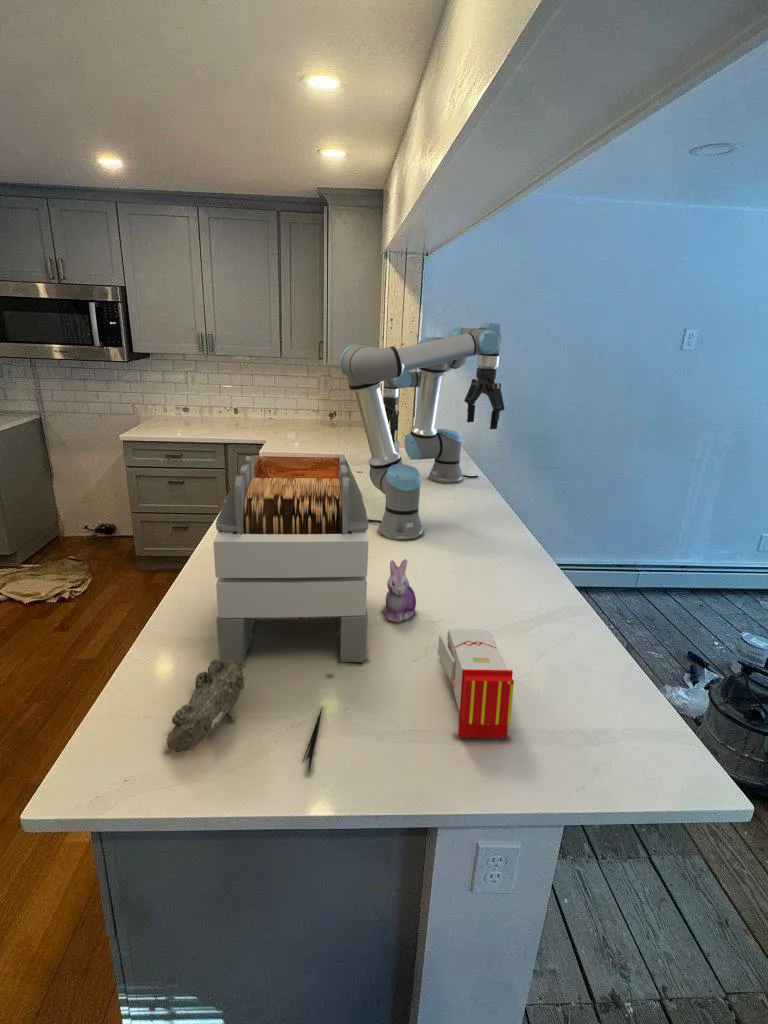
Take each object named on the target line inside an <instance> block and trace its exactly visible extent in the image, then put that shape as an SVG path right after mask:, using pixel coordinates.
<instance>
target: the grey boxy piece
mask: <svg viewBox="0 0 768 1024" xmlns="http://www.w3.org/2000/svg"><path fill="white" fill-rule="evenodd" d="M363 497H364V496H363V494H362V491H361V489H360V487H359V485H358V483H357V481H356V478H355V476H354V475H353V472H352V469H351V467H350V465H349V463H348V461H347V458H346V457H343V456H339V457H338V478H332V479H330V478H324V477H323V478H320V479H317V478H313V477H312V478H311V477H310V478H309V477H308V478H307V477H294V479H293V478H289V479H288V477H284V478H283V477H273V478H272V477H264V478H262V477H255V461H254V456H248V455H245V458H244V460H243V462H242V464H241V467H240V468H239V471H238V474H237V475H236V477H235V479H234V481H233V483H232V486H231V488H230V490H229V491H228V494H227V497H226V499H225V501H224V502H223V505H222V507H221V510H220V512H219V513H218V517H217V518H216V522H215V528H216V531H217V533H216V535H215V537H214V539H213V542H212V543H213V557H214V572H215V573H214V574H215V579H217V580H216V583H215V585H216V586H215V589H216V603H217V616H216V632H217V633H216V634H217V644H218V652H219V661H222V662H223V661H224V660H227V659H228V660H231V659H232V660H234V661H235V662H236V664H237V665H243V662H244V659H245V657H246V654H247V652H248V649H249V645H250V643H251V640H252V633H251V632H252V631H253V630H254V626H255V621H276V620H277V621H282V620H284V621H288V620H289V621H292V620H294V621H295V620H298V621H299V620H300V621H301V620H307V619H308V620H313V619H314V620H328V619H329V620H334V619H336V620H337V625H338V642H339V657H340V659H339V660H340V663H364V662H366V661H367V653H368V652H367V651H368V626H369V625H368V624H369V623H368V621H369V618H368V616H369V615H368V609H367V595H368V594H367V592H368V591H367V590H368V580H367V577H368V564H369V537H368V532H367V530H369V522H368V519H369V518H368V515H367V509H366V506H365V501H364V498H363Z"/></svg>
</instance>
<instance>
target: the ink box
mask: <svg viewBox="0 0 768 1024" xmlns="http://www.w3.org/2000/svg"><path fill="white" fill-rule="evenodd" d="M389 428H390V426H389ZM392 429H393V428H392ZM390 430H391V429H390ZM400 443H401V442H400V440H396V439H395V440H394V443H393V445H394V449H395V451H396V452H398V453H400Z"/></svg>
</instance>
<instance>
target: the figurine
mask: <svg viewBox="0 0 768 1024" xmlns="http://www.w3.org/2000/svg"><path fill="white" fill-rule="evenodd" d="M407 567H408V559H406V558H404V559H403V560H402V561H401V563H400V565H399V566H398V565H397V563H396V562H395V561H394V560H393V559H391V560H390V561H389V570H390V576H389V578H388V579H387V589H388V591H387V592H386V594H385V595H386V596H385V607H384V615H385V616H386V620H387V621H391V622H395V623H400V622H402V621H406V620H409V619H410V618H411V617H413V616H414V615H415V610H416V606H417V597H416V593H415V591H414V590H413V587H411V586H410V582H409V579H408V577H407V574H406V571H407Z"/></svg>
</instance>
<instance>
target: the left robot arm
mask: <svg viewBox="0 0 768 1024" xmlns="http://www.w3.org/2000/svg"><path fill="white" fill-rule="evenodd" d="M502 333H503V325H502V324H501V323H499V322H498V323H497V322H482V323H481V324H480V327H478V328H476V327H475V328H474V327H460V326H459V327H453V328H451V329H450V330H449V331H448V335H447V337H444V338H443V339H439V340H434V341H430V342H425V343H421V344H418V343H417V344H412V345H407V346H404V347H399V348H397V347H396V346H394V345H393V346H388V347H375V346H369V345H367V344H363V343H357V344H356V343H355V344H352V345H349V346H348V347H346V348H345V349H344V350H343V351H342V354H341V355H340V358H339V359H340V360H339V365H340V369H341V371H342V373H343V375H344V376H345V378H346V381H347V384H348V388H349V391H351V392H353V393H355V398H356V400H357V405H358V409H359V412H360V416H361V417H360V418H361V420H362V425H363V428H364V431H365V435H366V439H367V443H368V447H369V451H370V455H371V457H370V458H369V460H368V464H369V467H370V468H369V473H368V474H369V478H370V479H369V480H370V481H371V483H372V484H373V486H374V487H375V488H376V489H378V490H379V491H380V492H381V493H382V494H383V495H385V504H384V505H385V507H384V508H385V509H384V513H383V515H382V519H381V520H379V519H369V518H368V523H376V524H379V527H378V533H379V534H380V535H381V536H382V537H385V538H387V539H389V540H395V541H410V540H415V539H418V538H420V537H421V536H422V535H423V525H422V524H421V518H420V515H419V507H420V506H419V505H420V496H421V495H420V494H421V493H420V492H421V483H422V480H421V472H420V471H419V469H418V468H416V467H414V466H412V465H409V464H406V463H405V464H404V463H403V461H402V457H401V456H402V455H401V454H400V452H399V453H398V452H396V451H395V449H394V445H393V441H392V437H391V432H390V428H389V427H390V423H389V424H388V420H387V416H386V412H385V405H384V403H383V395H382V391H381V385H382V383H384V381H385V380H388V379H392V378H396V377H400V376H401V375H402V373H403V372H407V371H416V370H419V368H423V367H428V366H432V365H436V364H440V363H444V362H448V361H453V360H457V359H461V358H465V357H468V358H470V357H473V356H477V363H476V366H477V368H476V374H475V376H476V377H475V378H471V382H470V386H469V387H468V390H467V393H466V395H465V397H464V399H463V400H464V403H465V404H466V405H467V410H466V413H467V418H466V423H475V411H476V402H477V400H478V399H479V397H481V395H482V394H484V395H486V396H487V397H488V399H489V402H490V405H491V408H492V410H491V414H490V415H491V416H490V425H489V430H498V422H499V420H500V413H501V412H503V411H505V403H504V399H503V393H502V383H501V382H495V381H496V380H497V378H498V372H499V370H498V367H499V361H500V353H501V343H502V337H503V334H502Z"/></svg>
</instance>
